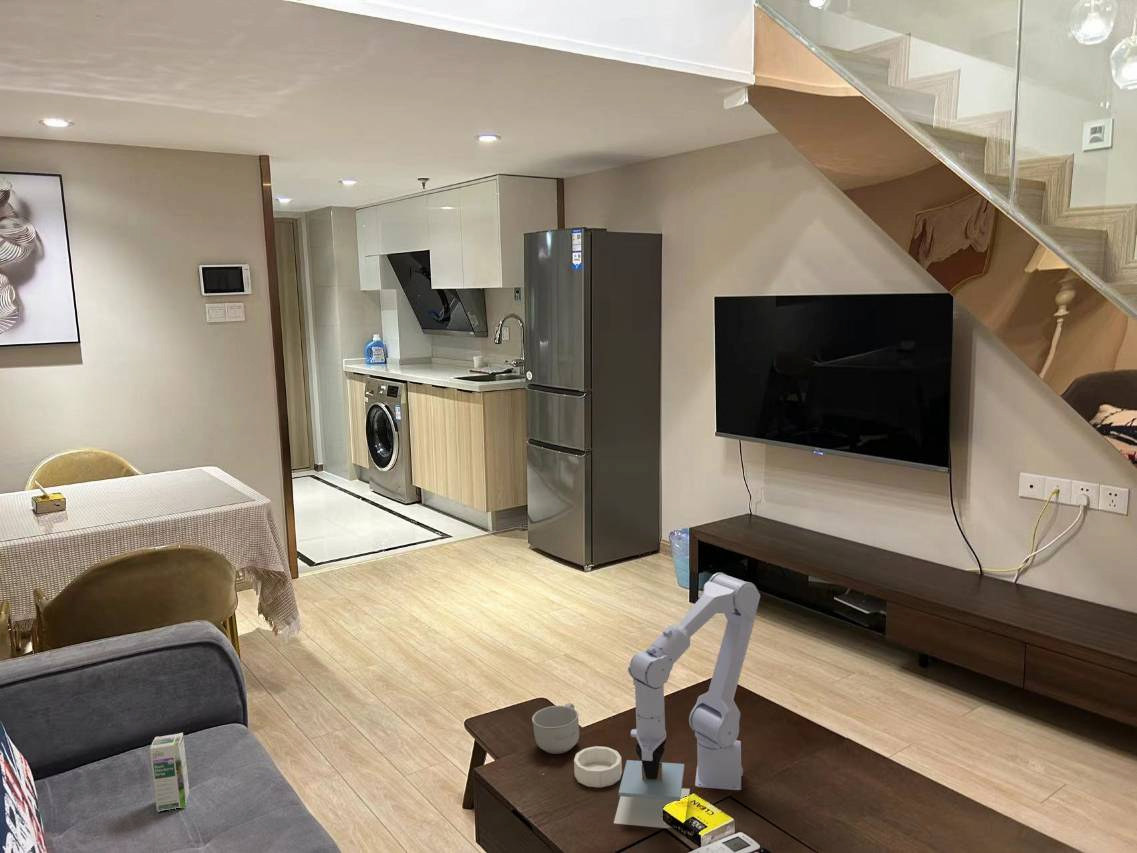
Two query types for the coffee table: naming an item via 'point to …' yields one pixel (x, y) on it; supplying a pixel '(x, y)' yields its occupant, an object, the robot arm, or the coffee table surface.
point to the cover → (652, 781)
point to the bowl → (598, 766)
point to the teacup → (556, 728)
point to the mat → (643, 811)
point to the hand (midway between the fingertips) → (652, 775)
